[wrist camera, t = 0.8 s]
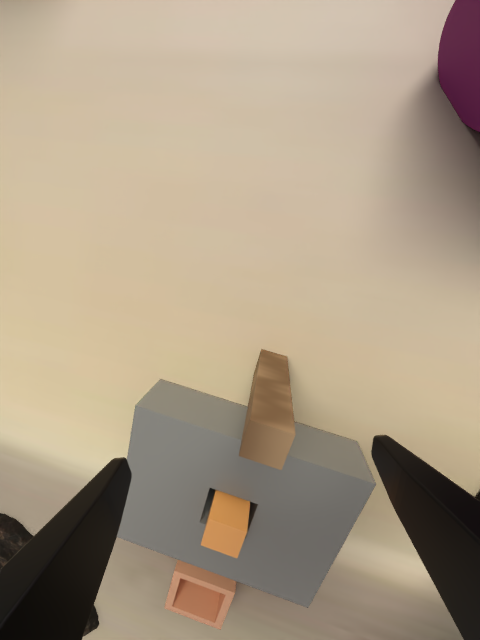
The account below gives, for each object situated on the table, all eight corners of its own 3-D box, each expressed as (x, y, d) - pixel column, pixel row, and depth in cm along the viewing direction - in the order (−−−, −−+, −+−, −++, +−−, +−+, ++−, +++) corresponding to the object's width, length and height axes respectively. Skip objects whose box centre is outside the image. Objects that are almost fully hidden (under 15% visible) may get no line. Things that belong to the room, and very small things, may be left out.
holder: (240, 548, 29) (234, 593, 25) (227, 582, 30) (220, 629, 27) (187, 529, 29) (174, 570, 25) (178, 564, 31) (164, 608, 27)
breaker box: (357, 441, 23) (376, 484, 19) (303, 552, 27) (308, 607, 23) (160, 379, 24) (135, 405, 20) (139, 494, 29) (115, 536, 25)
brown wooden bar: (287, 356, 22) (295, 434, 12) (279, 379, 23) (281, 470, 13) (261, 349, 22) (250, 419, 12) (254, 372, 23) (238, 455, 13)
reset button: (251, 486, 23) (247, 531, 19) (243, 509, 24) (237, 558, 20) (219, 475, 23) (208, 518, 19) (212, 499, 24) (200, 545, 20)
